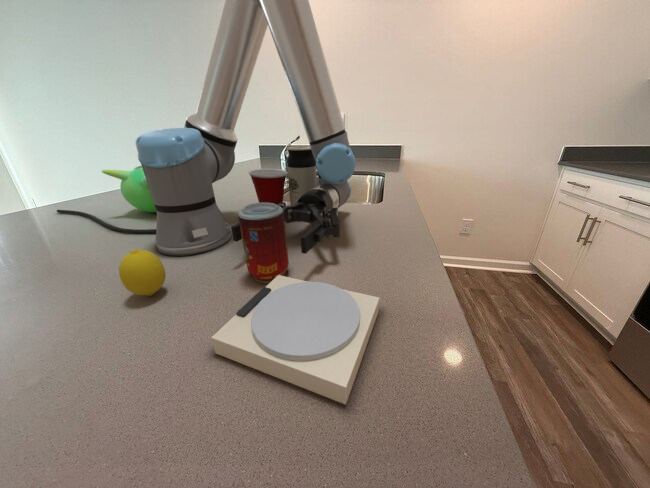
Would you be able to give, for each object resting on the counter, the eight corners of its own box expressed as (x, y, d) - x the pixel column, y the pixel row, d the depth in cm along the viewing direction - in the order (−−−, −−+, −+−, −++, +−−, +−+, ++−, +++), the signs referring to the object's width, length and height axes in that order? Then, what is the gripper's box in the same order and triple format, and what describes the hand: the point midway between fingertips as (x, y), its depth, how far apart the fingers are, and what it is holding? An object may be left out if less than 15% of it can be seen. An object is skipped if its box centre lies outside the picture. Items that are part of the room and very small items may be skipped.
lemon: (143, 286, 43) (125, 242, 39) (177, 283, 43) (163, 240, 40) (122, 307, 38) (100, 260, 34) (161, 304, 38) (143, 257, 35)
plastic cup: (283, 218, 71) (279, 174, 66) (247, 216, 74) (240, 174, 68) (295, 207, 81) (293, 167, 76) (264, 205, 83) (259, 167, 78)
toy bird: (203, 204, 86) (193, 158, 79) (164, 222, 71) (147, 167, 65) (158, 202, 90) (145, 158, 83) (112, 218, 75) (92, 166, 69)
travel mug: (309, 205, 82) (306, 145, 74) (322, 212, 76) (320, 147, 68) (286, 210, 78) (280, 147, 70) (298, 217, 72) (293, 149, 64)
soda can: (246, 268, 47) (235, 203, 42) (284, 261, 50) (278, 198, 44) (251, 289, 41) (238, 217, 36) (293, 279, 44) (288, 210, 38)
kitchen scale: (215, 353, 30) (209, 332, 28) (279, 287, 41) (277, 270, 40) (345, 405, 24) (346, 381, 23) (378, 312, 36) (380, 292, 34)
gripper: (369, 225, 58) (337, 272, 40) (274, 214, 66) (213, 248, 49) (371, 192, 54) (337, 227, 37) (271, 184, 63) (204, 210, 46)
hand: (266, 239), depth 43 cm, fingers open, 13 cm apart
